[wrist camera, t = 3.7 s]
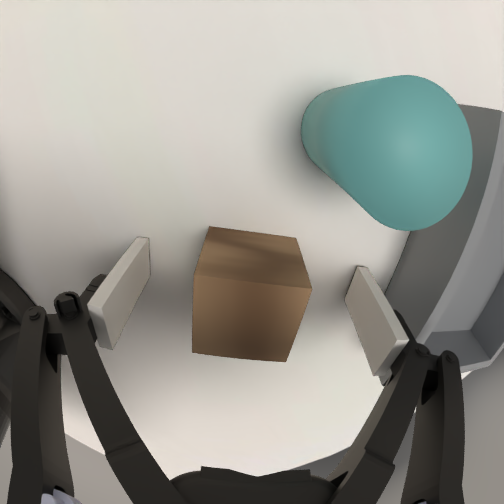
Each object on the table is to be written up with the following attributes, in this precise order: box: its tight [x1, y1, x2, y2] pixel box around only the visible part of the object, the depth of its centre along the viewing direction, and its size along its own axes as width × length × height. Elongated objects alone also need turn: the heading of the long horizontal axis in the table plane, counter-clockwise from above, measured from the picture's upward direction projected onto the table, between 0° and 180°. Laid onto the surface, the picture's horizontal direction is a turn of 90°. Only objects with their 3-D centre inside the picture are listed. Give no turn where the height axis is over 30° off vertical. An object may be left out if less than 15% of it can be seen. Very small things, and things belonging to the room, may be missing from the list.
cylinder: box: [301, 75, 472, 231], centre depth 10 cm, size 5×5×7 cm
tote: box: [379, 104, 504, 386], centre depth 14 cm, size 14×18×5 cm
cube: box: [192, 226, 312, 362], centre depth 15 cm, size 5×5×5 cm
